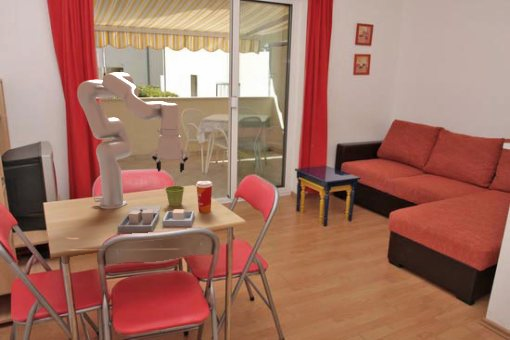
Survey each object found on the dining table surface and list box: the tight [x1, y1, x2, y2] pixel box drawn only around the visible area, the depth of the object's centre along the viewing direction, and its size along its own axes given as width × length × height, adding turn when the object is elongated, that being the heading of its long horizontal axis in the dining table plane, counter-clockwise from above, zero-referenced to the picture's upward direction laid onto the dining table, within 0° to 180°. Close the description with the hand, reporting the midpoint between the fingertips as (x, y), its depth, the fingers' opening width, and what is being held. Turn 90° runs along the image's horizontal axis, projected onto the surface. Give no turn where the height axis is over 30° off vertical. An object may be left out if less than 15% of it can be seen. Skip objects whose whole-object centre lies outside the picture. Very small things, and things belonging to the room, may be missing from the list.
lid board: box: [124, 205, 162, 217], centre depth 185 cm, size 14×14×2 cm
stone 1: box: [129, 211, 142, 223], centre depth 173 cm, size 4×4×4 cm
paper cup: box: [195, 180, 213, 214], centre depth 187 cm, size 8×8×14 cm
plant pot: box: [164, 185, 185, 207], centre depth 196 cm, size 9×9×9 cm
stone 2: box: [142, 209, 154, 223], centre depth 173 cm, size 4×4×4 cm
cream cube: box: [172, 208, 186, 220], centre depth 174 cm, size 4×4×4 cm
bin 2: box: [161, 210, 195, 227], centre depth 174 cm, size 12×12×3 cm
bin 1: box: [117, 212, 160, 233], centre depth 170 cm, size 14×16×3 cm
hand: (170, 171), depth 176 cm, fingers open, 9 cm apart
